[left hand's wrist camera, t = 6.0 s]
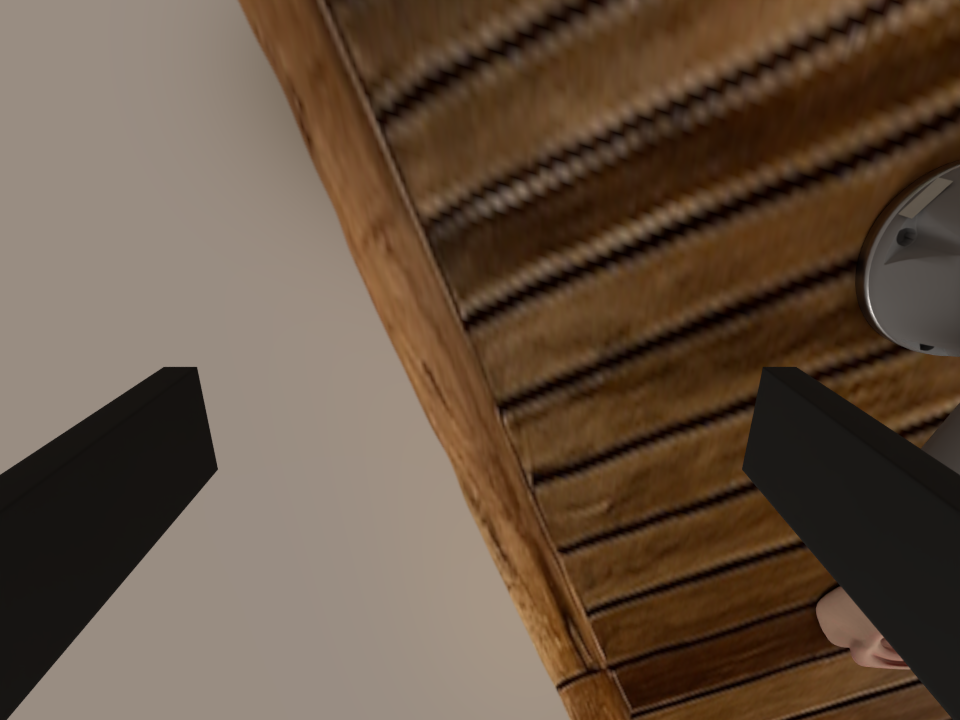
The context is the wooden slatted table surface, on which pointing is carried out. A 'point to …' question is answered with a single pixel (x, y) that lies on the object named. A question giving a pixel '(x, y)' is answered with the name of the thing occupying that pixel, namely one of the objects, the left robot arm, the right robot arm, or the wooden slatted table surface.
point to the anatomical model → (855, 632)
